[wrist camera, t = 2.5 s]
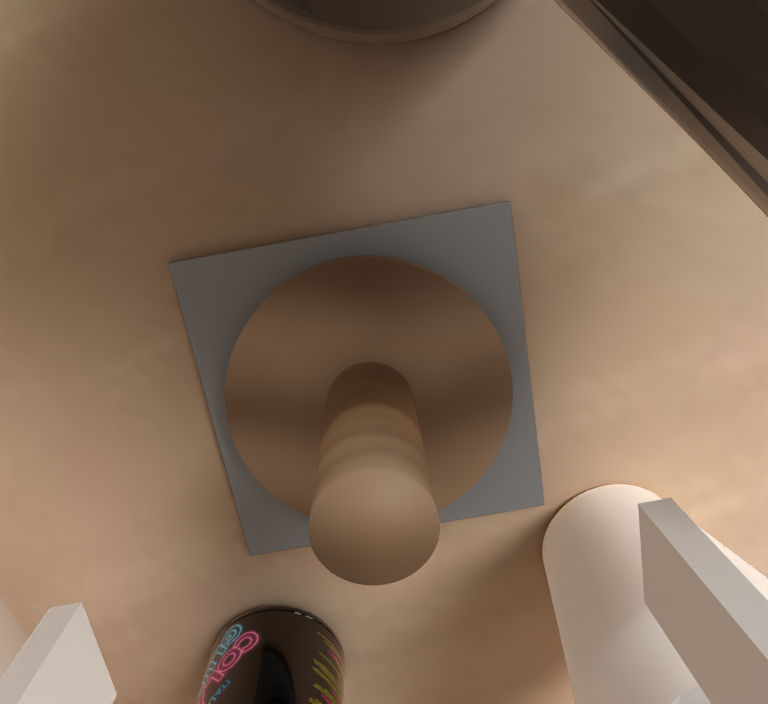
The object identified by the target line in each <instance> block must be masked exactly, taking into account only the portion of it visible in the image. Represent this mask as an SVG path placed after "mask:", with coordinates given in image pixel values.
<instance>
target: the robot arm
mask: <svg viewBox="0 0 768 704" xmlns="http://www.w3.org/2000/svg"><path fill="white" fill-rule="evenodd" d="M254 1H255V2H257V3H258V4H259V5H261V6H262V7H264V8H265V9H267V10H268V11H270V12H271V13H273V14H274V15H276V16H278V17H279V18H281V19H283V20H285V21H287V22H289V23H290V24H293V25H295V26H297V27H299V28H301V29H304V30H306V31H309V32H312V33H314V34H317V35H320V36H324V37H327V38H331V39H335V40H340V41H346V42H352V43H362V44H390V43H400V42H407V41H412V40H417V39H421V38H425V37H428V36H431V35H435V34H438V33H441V32H443V31H445V30H448V29H450V28H453V27H455V26H457V25H459V24H461V23H463V22H465V21H467V20H469V19H470V18H472V17H474V16H475V15H477V14H479V13H480V12H482V11H483V10H485V9H486V8H487V7H489V6H490V5H492V4H493V3H494V2H495V1H497V0H254ZM554 1H555V2H556V3H557V4H558V5H559V6H560V7H561V8H562V9H563V10H564V11H565V12H566V13H567V14H568V15H569V16H570V17H571V18H572V19H573V20H574V21H575V22H576V23H577V24H578V25H579V26H580V27H581V28H582V29H583V30H584V31H585V32H586V33H587V34H588V35H589V36H590V37H591V38H592V39H593V40H594V41H595V42H596V43H597V44H598V45H599V46H600V47H601V48H602V49H603V50H604V51H605V52H606V53H607V54H608V55H609V56H610V57H611V58H612V59H613V60H614V61H615V62H616V63H617V64H618V65H619V66H620V67H621V68H622V69H623V70H624V71H625V72H626V73H627V74H628V75H629V76H630V77H631V78H632V79H633V80H634V81H635V82H636V83H637V84H638V85H639V86H640V87H641V88H642V89H643V90H644V91H645V92H646V93H647V94H648V95H649V96H650V97H651V98H652V99H653V100H654V101H655V102H656V103H657V104H658V105H659V106H660V107H661V108H662V109H663V110H664V111H665V112H666V113H667V114H668V115H669V116H670V117H671V118H672V119H673V120H674V121H675V122H676V123H677V124H678V125H679V126H680V127H681V128H682V129H683V130H684V131H685V132H686V133H687V134H688V135H689V136H690V137H691V138H692V139H693V140H694V141H695V142H696V143H697V144H698V145H699V146H700V147H701V148H702V149H703V150H704V151H705V152H706V153H707V154H708V155H709V156H710V157H711V158H712V159H713V160H714V161H715V162H716V163H717V164H718V165H719V166H720V167H721V168H722V169H723V170H724V172H725V173H726V174H727V175H728V176H729V177H730V178H731V179H732V180H733V181H734V182H735V183H736V184H737V185H738V186H739V187H740V188H741V189H742V190H743V191H744V192H745V194H746V195H747V196H748V197H749V198H750V199H751V200H752V201H753V202H754V203H755V204H756V205H757V206H758V207H759V208H760V209H761V210H762V211H763V212H764V213H765V214H766V216H767V217H768V0H554ZM638 511H639V527H640V543H641V558H642V574H643V590H644V603H645V604H646V606H647V607H648V609H649V610H650V612H651V613H652V615H653V616H654V618H655V619H656V621H657V622H658V624H659V625H660V627H661V628H662V630H663V631H664V633H665V634H666V636H667V638H668V639H669V641H670V642H671V644H672V645H673V647H674V648H675V650H676V651H677V653H678V654H679V656H680V657H681V659H682V660H683V662H684V663H685V665H686V666H687V668H688V669H689V671H690V673H691V674H692V676H693V677H694V679H695V680H696V682H697V683H698V685H699V686H700V688H701V689H702V691H703V692H704V694H705V695H706V697H707V698H708V700H709V701H710V703H711V704H768V600H767V599H766V598H765V597H764V596H763V595H762V594H761V593H760V592H759V591H758V590H757V588H756V587H755V586H754V585H753V584H752V583H751V582H750V581H749V580H748V579H747V578H746V577H745V576H744V575H743V574H742V573H741V572H740V570H739V569H738V568H737V567H736V566H735V565H734V564H733V563H732V562H731V561H730V560H729V559H728V558H727V557H726V556H725V555H724V554H723V552H722V551H721V550H720V549H719V548H718V547H717V546H716V545H715V544H714V543H713V542H712V541H711V540H710V539H709V538H708V537H707V536H706V534H705V533H704V532H703V531H702V530H701V529H700V528H699V527H698V526H697V525H696V524H695V523H694V522H693V521H692V520H691V519H690V518H689V516H688V515H687V514H686V513H685V512H684V511H683V510H682V509H681V508H680V507H679V506H678V505H677V504H676V503H675V502H674V501H673V500H672V498H667V499H661V500H656V501H650V502H644V503H639V504H638ZM116 695H117V693H116V691H115V688H114V685H113V683H112V680H111V678H110V675H109V672H108V670H107V667H106V664H105V662H104V659H103V657H102V654H101V651H100V649H99V646H98V643H97V641H96V638H95V636H94V633H93V630H92V628H91V625H90V622H89V620H88V617H87V615H86V612H85V609H84V607H83V604H82V602H78V603H72V604H67V605H61V606H55V607H50V608H49V609H48V611H47V612H46V613H45V615H44V616H43V618H42V619H41V621H40V622H39V623H38V625H37V626H36V628H35V629H34V631H33V632H32V633H31V635H30V636H29V638H28V639H27V640H26V642H25V643H24V645H23V646H22V648H21V649H20V650H19V652H18V654H17V655H16V656H15V658H14V659H13V661H12V662H11V663H10V665H9V666H8V668H7V669H6V670H5V672H4V673H3V675H2V676H1V678H0V704H113V702H114V700H115V697H116Z"/></svg>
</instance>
